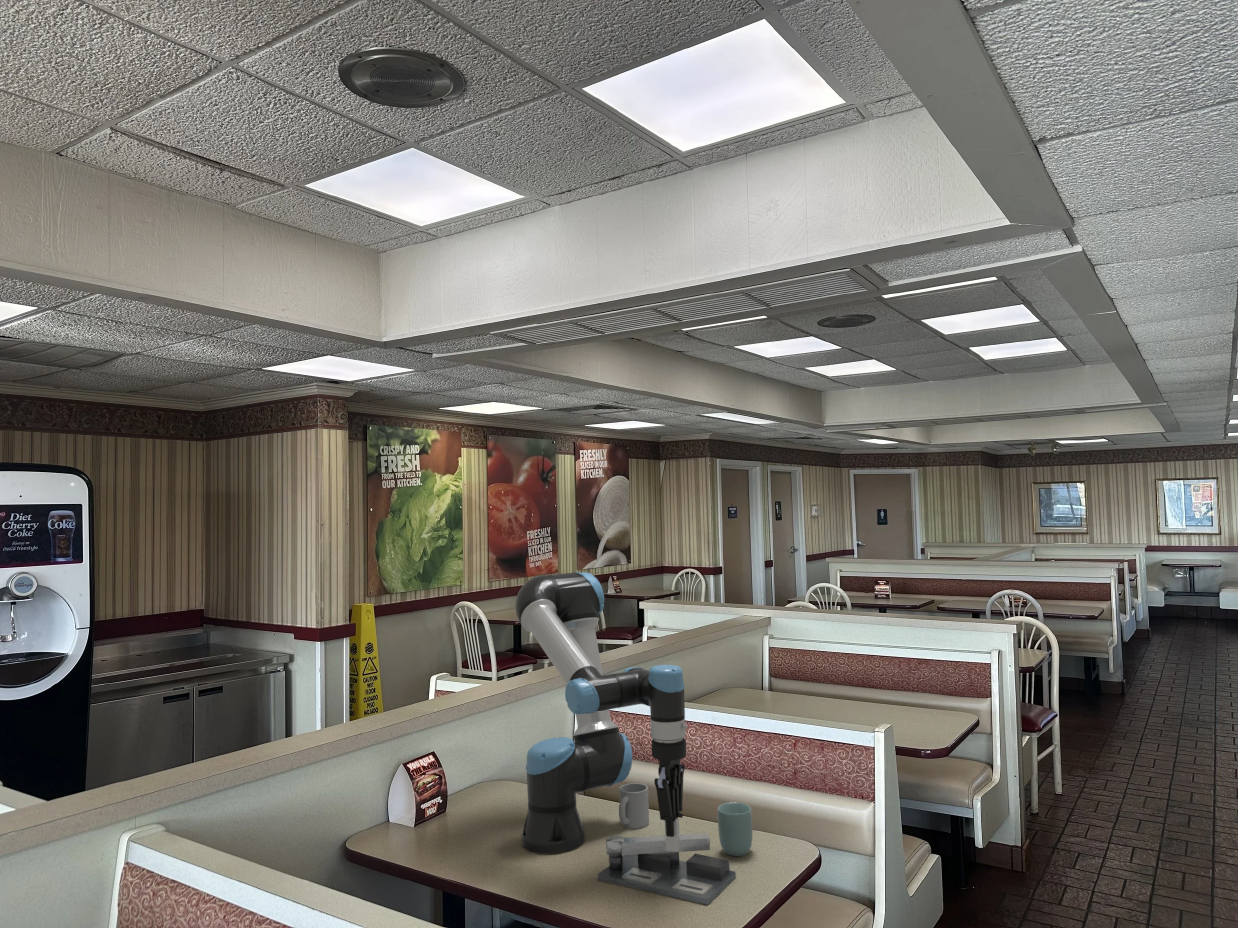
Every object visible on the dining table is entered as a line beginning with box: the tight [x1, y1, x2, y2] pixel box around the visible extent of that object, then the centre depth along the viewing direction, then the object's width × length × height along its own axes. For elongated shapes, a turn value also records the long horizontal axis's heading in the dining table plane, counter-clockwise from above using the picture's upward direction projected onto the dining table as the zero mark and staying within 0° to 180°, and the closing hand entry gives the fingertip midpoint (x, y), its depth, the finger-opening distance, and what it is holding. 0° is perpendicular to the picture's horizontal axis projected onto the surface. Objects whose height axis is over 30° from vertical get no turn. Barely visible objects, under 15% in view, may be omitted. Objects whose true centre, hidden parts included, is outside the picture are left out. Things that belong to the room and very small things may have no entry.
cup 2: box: [717, 801, 753, 857], centre depth 191 cm, size 8×8×10 cm
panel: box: [597, 852, 737, 906], centre depth 179 cm, size 26×14×4 cm, turn 59°
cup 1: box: [618, 782, 650, 830], centre depth 210 cm, size 7×10×9 cm
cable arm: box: [605, 832, 711, 857], centre depth 183 cm, size 22×4×3 cm, turn 92°
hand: (672, 849), depth 180 cm, fingers closed
